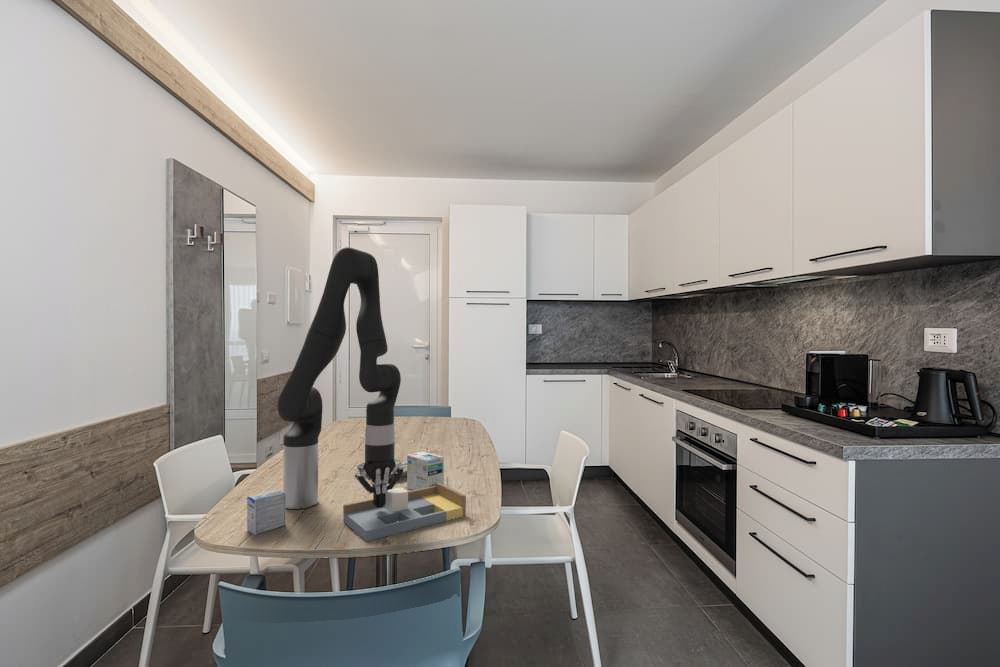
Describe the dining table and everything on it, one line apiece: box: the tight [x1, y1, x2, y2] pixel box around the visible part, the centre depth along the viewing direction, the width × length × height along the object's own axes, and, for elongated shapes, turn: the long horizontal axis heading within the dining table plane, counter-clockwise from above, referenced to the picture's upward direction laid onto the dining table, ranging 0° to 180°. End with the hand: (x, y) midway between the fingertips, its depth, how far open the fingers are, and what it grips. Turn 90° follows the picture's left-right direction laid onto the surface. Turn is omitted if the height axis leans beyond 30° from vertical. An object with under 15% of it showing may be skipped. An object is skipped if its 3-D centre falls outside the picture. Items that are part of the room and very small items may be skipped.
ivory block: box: [385, 487, 409, 512], centre depth 137 cm, size 4×4×4 cm
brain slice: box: [356, 458, 407, 479], centre depth 177 cm, size 20×17×3 cm
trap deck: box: [342, 482, 467, 542], centre depth 136 cm, size 15×28×6 cm, turn 127°
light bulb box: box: [406, 451, 445, 491], centre depth 160 cm, size 11×7×11 cm, turn 47°
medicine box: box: [246, 488, 287, 536], centre depth 129 cm, size 8×4×9 cm, turn 141°
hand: (379, 506), depth 134 cm, fingers closed
